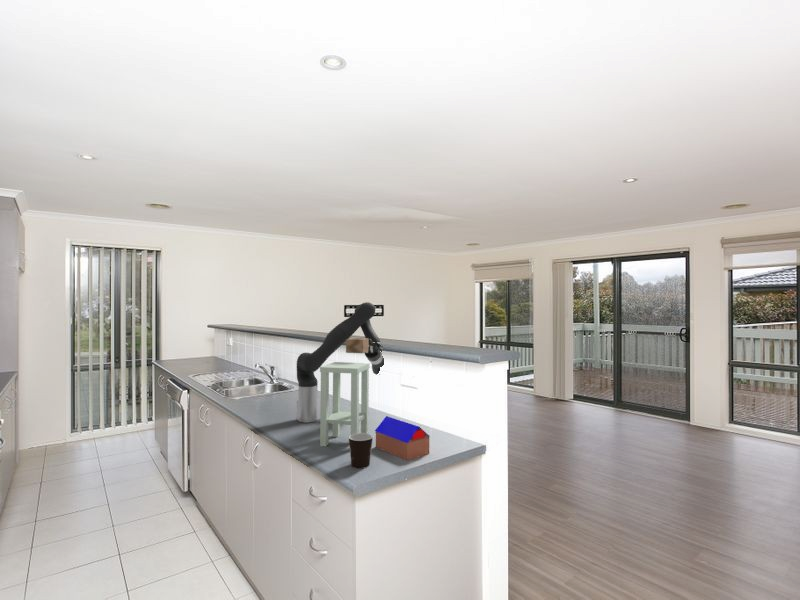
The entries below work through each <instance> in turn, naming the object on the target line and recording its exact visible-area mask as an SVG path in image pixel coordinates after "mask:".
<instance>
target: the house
mask: <svg viewBox="0 0 800 600" xmlns="http://www.w3.org/2000/svg"><path fill="white" fill-rule="evenodd" d="M374 431H375V448H377V447H378V449H379V450H382V449H383V450H382V451H384V450H385V451H384V452H387V453H389V454H391V455H394V456H396V457H398V458H401V459H403V460H405V461H410V460H413V459H416V458H419V457H423V456H425V455H426V456H427V455H430V437H431V436H430V435H429V434H428V433H427V432H426V431H425V430H424V429H423V428H421V427H420V426H419V425H415V424H413V423H409V422H406V421H403V420H400V419H397V418H393V417H390V416H387V415H386V416H385V418H383V420H382V421H381V422H380V423H379V425H378V426H377V427H376V429H375V430H374Z"/></svg>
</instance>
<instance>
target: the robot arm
mask: <svg viewBox="0 0 800 600" xmlns="http://www.w3.org/2000/svg"><path fill="white" fill-rule="evenodd" d="M375 314H376V306H375V305H374V304H373V303H372V302H369V301H368V302H367V301H366V302H363V303H361V304H358V305H357V306H356V307H355V309H354V313H353V314H352V315H351V316H349V317H348V318H346V319H345V320H343V321H341V322H339V323H338V324H337V325H336V326H335V327H333V328H332V329H331V330H330V331H329V332H328V334H327V335H325V336H326V337H325V338H324V340H323V342H322V344H320V346H319V347H318V348H317V349H315V350H314V351H313V352H302V353H301V354H299V355H298V357H297V358H296V359H297V360H296V380H297V384H298V393H297V394H298V397H297V398H298V400H297V401H296V420H297V421H298V422H300V423H307V424H308V423H314V422H317V421H318V383H319V382H318V379H317V377H316V376H315V372H316V371H318V370H320V367H322V366H323V364H324V363H325V362H326V360H328V358H329V357H330V356H332V355H333V354H334V353H335V352H336V351H337V350H338V349H339V348H340V347H342V345H343V344H344V343H346V339H350V338H352V336H353V335H354V334H355V333H356V332H357V331H358V329H359V328H360V329H361V331H362V332H363V335H364V338H369V351H368V352H365V353H364V356H365V357H366V358H367V360H368V361H369V362H370V364H371V369H372V370H371V371H372V373H373V374H375V375H377V374H378V373H379V371H380V367H382V366H383V365H384V358H383V356H382V353H381V352H382V350H383V351H384V346H383V345H382V344H381V345H382V346H381V345H380V344H378V343H377V342H381V340H380V338H379V336H378V334H377V333H376V331H375V330H374V329H373V327H372V324H371V319H372V318H374V316H375ZM370 339H371V340H370ZM373 342H375V343H373ZM380 351H381V352H380ZM377 376H378V375H377Z"/></svg>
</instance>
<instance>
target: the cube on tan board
mask: <svg viewBox="0 0 800 600" xmlns="http://www.w3.org/2000/svg"><path fill="white" fill-rule="evenodd" d="M370 340H371V339H370ZM368 351H369V338H365V337H350V338H349V339H346V342H345V353H347V354H365V352H368Z"/></svg>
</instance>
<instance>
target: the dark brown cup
mask: <svg viewBox="0 0 800 600" xmlns="http://www.w3.org/2000/svg"><path fill="white" fill-rule="evenodd" d="M373 438H374V437H373V434H369V433H368V434H366V433H361V432H359V433H357V434H352V435H351V434H350V435H349V436H348V445H349V453H350V455H349V456H350V463H351V467H352V466H353V467H352V468H354V467H356V468H355V469H365V468H364V467H366V468H368V467H369V466H370V462H371V455H372V446H373Z"/></svg>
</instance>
